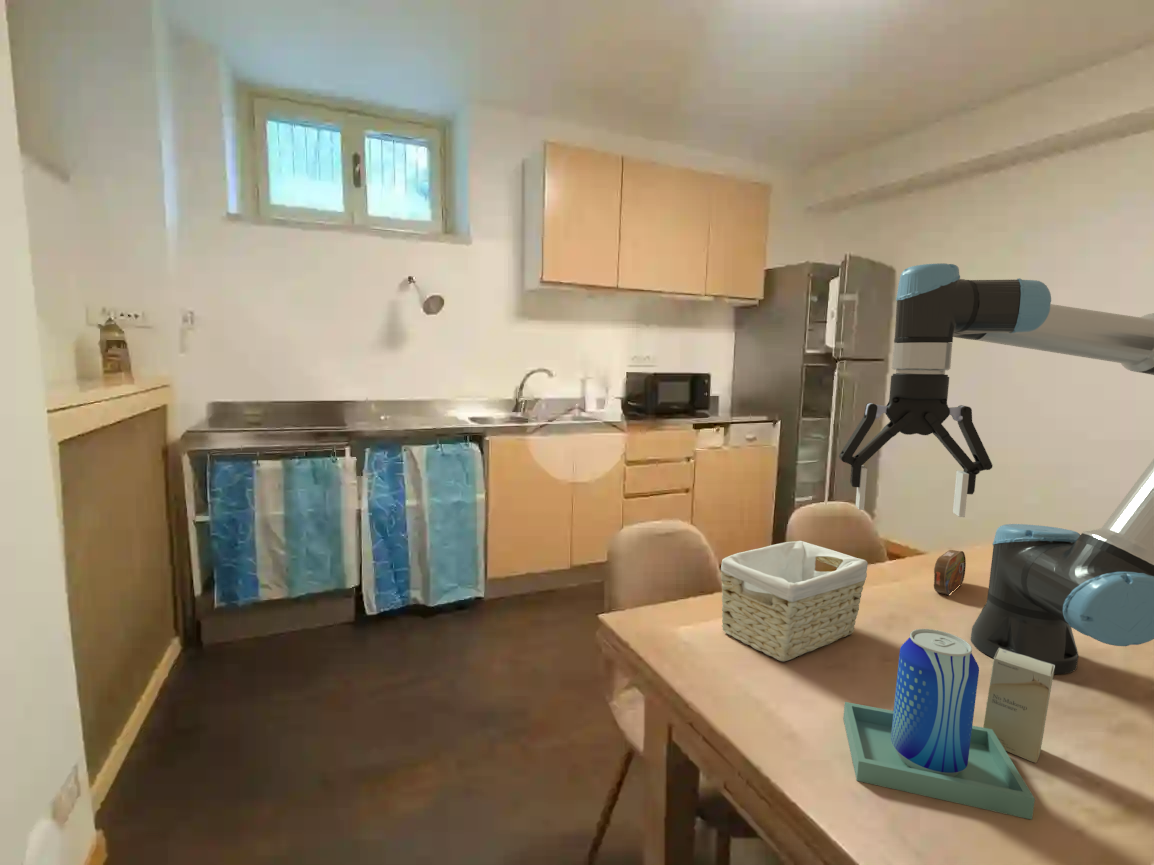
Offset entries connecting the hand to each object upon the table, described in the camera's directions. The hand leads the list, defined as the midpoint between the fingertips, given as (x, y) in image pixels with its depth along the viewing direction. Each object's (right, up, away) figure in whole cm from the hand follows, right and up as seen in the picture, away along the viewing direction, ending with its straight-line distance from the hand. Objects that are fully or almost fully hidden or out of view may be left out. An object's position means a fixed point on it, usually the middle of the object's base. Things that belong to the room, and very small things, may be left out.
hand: (908, 511), depth 89 cm
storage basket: (-11, -26, +20) cm, 34 cm away
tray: (-6, -30, -15) cm, 34 cm away
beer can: (-6, -30, -15) cm, 34 cm away
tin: (+34, -24, +43) cm, 60 cm away
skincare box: (+8, -30, -11) cm, 33 cm away
